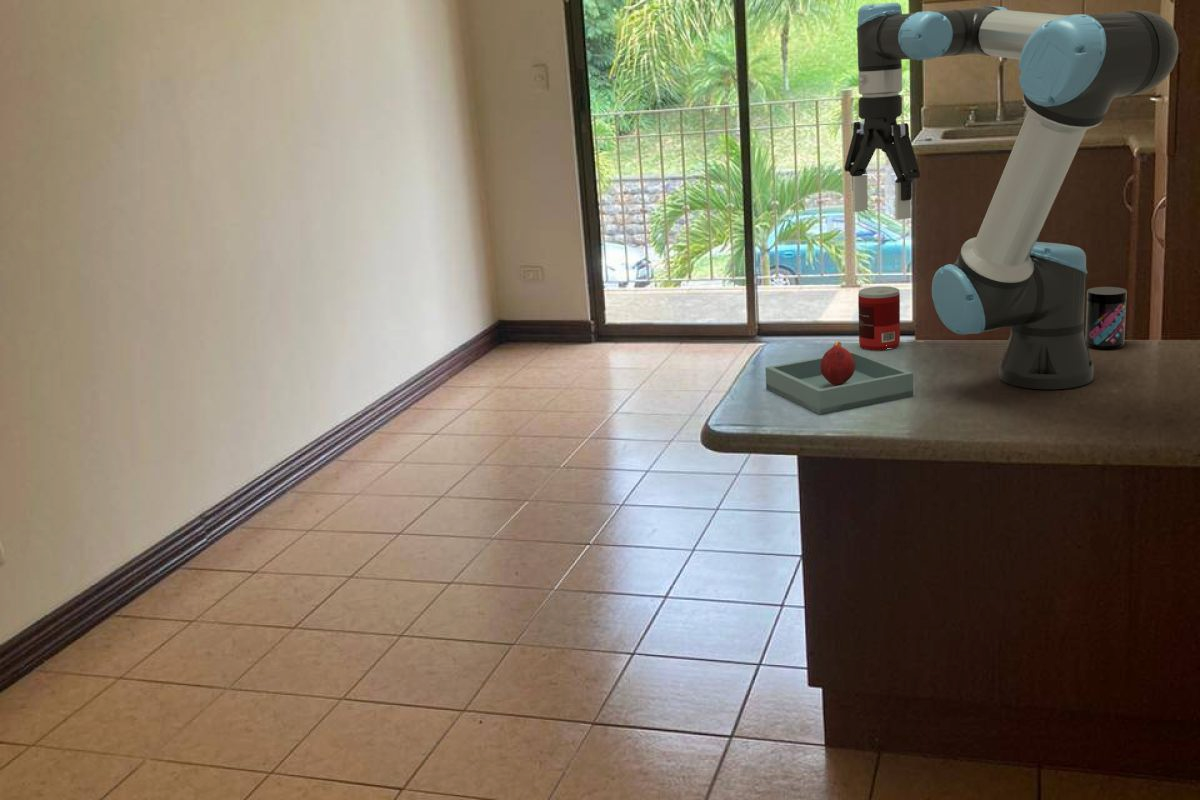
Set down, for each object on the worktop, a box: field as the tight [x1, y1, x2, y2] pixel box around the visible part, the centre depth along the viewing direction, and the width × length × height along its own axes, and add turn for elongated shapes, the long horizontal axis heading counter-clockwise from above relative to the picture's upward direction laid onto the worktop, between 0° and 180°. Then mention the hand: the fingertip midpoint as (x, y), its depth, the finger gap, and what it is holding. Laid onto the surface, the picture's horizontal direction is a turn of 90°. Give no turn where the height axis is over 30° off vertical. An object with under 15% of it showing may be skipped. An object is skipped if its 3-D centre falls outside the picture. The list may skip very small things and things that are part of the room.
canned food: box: [857, 285, 901, 352], centre depth 234 cm, size 8×8×11 cm
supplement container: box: [1085, 286, 1128, 351], centre depth 222 cm, size 7×7×10 cm
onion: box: [821, 340, 855, 386], centre depth 207 cm, size 6×6×8 cm
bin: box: [765, 350, 914, 416], centre depth 208 cm, size 18×18×4 cm
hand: (881, 214), depth 220 cm, fingers open, 13 cm apart
